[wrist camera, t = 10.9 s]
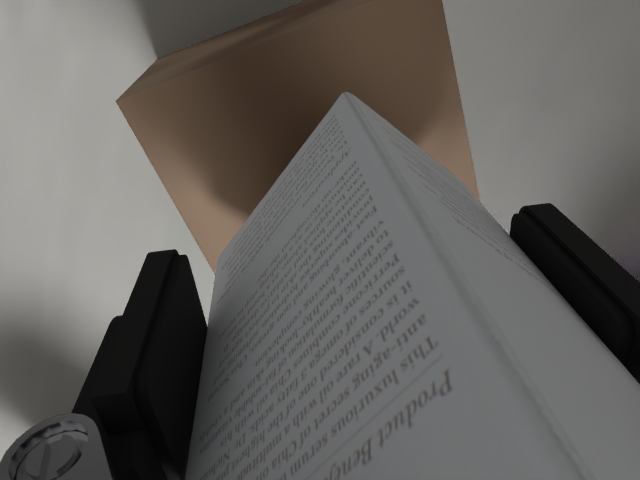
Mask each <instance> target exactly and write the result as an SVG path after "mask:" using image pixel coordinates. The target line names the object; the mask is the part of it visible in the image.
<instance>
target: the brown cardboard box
mask: <svg viewBox="0 0 640 480" xmlns="http://www.w3.org/2000/svg"><path fill="white" fill-rule="evenodd" d="M344 92H349V93H351V94H353V95H354V96H356V97H357V98H358V99H360V100H361V101H362V102H363V103H365V104H366V105H367V106H369V107H370V108H371V109H372V110H374V111H375V112H376V113H377V114H379V115H380V116H381V117H383V118H384V119H385V120H386V121H388V122H389V123H390V124H391V125H393V126H394V127H395V128H396V129H397V130H399V131H400V132H401V133H402V134H404V135H405V136H406V137H407V138H409V139H410V140H411V141H412V142H414V143H415V144H416V145H417V146H419V147H420V148H421V149H422V150H424V151H425V152H426V153H427V154H429V155H430V156H431V157H432V158H434V159H435V160H436V161H437V162H439V163H440V164H441V165H442V166H444V167H445V168H446V169H447V170H449V171H450V172H451V173H453V174H454V175H455V176H456V177H458V178H459V179H460V180H461V181H462V182H463V183H464V184H465V185H466V187H467V188H468V189H469V190H470V191H471V192H472V193H473V195H474V196H475V197H476V198H477V199H478V200H479V195H478V189H477V184H476V179H475V173H474V168H473V163H472V158H471V152H470V147H469V142H468V136H467V131H466V126H465V120H464V115H463V110H462V105H461V99H460V94H459V89H458V83H457V78H456V73H455V67H454V62H453V57H452V52H451V46H450V41H449V36H448V30H447V25H446V20H445V15H444V9H443V4H442V0H307V1H304V2H302V3H299V4H297V5H294V6H292V7H289V8H286V9H284V10H281V11H279V12H276V13H274V14H271V15H269V16H266V17H264V18H261V19H259V20H256V21H254V22H251V23H248V24H246V25H243V26H241V27H238V28H236V29H233V30H231V31H228V32H226V33H223V34H221V35H218V36H216V37H213V38H210V39H208V40H205V41H203V42H200V43H198V44H195V45H193V46H190V47H188V48H185V49H183V50H180V51H178V52H175V53H172V54H170V55H167V56H165V57H162V58H160V59H157V60H156V61H155V62H154V63H153V64H152V65H151V66H150V67H149V68H148V69H147V70H146V71H145V72H144V73H143V74H142V75H141V76H140V77H139V78H138V79H137V80H136V81H135V82H134V83H133V84H132V85H131V86H130V87H129V88H128V89H127V90H126V91H125V92H124V93H123V94H122V95H121V96H120V97H119V98H118V99H117V100H116V103H117V104H118V106H119V108H120V110H121V111H122V113H123V115H124V117H125V118H126V120H127V122H128V124H129V125H130V127H131V129H132V130H133V132H134V134H135V136H136V137H137V139H138V141H139V143H140V144H141V146H142V148H143V150H144V151H145V153H146V155H147V157H148V158H149V160H150V162H151V164H152V165H153V167H154V169H155V171H156V172H157V174H158V176H159V178H160V179H161V181H162V183H163V185H164V186H165V188H166V190H167V192H168V193H169V195H170V197H171V199H172V200H173V202H174V204H175V206H176V207H177V209H178V211H179V213H180V214H181V216H182V218H183V220H184V221H185V223H186V225H187V227H188V228H189V230H190V232H191V234H192V235H193V237H194V239H195V241H196V242H197V244H198V246H199V248H200V249H201V251H202V253H203V255H204V256H205V258H206V260H207V261H208V263H209V265H210V267H211V268H212V270H213V272H214V274H216V268H217V261H218V258H219V256H220V255H221V253H222V252H223V251H224V250H225V248H226V247H227V246H228V244H229V243H230V242H231V240H232V239H233V238H234V236H235V235H236V234H237V232H238V231H239V230H240V228H241V227H242V226H243V224H244V223H245V222H246V220H247V219H248V218H249V216H250V215H251V214H252V212H253V211H254V210H255V208H256V207H257V206H258V204H259V203H260V202H261V200H262V199H263V198H264V196H265V195H266V194H267V192H268V191H269V190H270V189H271V187H272V186H273V184H274V183H275V182H276V180H277V179H278V177H279V176H280V175H281V174H282V172H283V171H284V170H285V168H286V167H287V166H288V164H289V163H290V162H291V160H292V159H293V158H294V156H295V155H296V154H297V152H298V151H299V150H300V148H301V147H302V146H303V144H304V143H305V142H306V141H307V139H308V138H309V137H310V135H311V134H312V133H313V131H314V130H315V129H316V127H317V126H318V125H319V123H320V122H321V121H322V119H323V118H324V117H325V115H326V114H327V113H328V112H329V110H330V109H331V108H332V106H333V105H334V103H335V102H336V101H337V99H338V98H339V97H340V95H341V94H342V93H344ZM479 202H480V200H479Z"/></svg>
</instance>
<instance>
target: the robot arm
mask: <svg viewBox="0 0 640 480" xmlns="http://www.w3.org/2000/svg"><path fill="white" fill-rule="evenodd" d="M510 237H511V238H512V239H513V240H514V242H515V243H516V244H517V245H518V246H519V247H520V248H521V250H522V251H523V252H524V253H525V254H526V255H527V256H528V257H529V259H530V260H531V261H532V262H533V263H534V264H535V265H536V267H537V268H538V269H539V270H540V271H541V272H542V273H543V275H544V276H545V277H546V278H547V279H548V280H549V281H550V283H551V284H552V285H553V286H554V287H555V288H556V290H557V291H558V292H559V293H560V294H561V295H562V296H563V298H564V299H565V300H566V301H567V302H568V303H569V304H570V305H571V307H572V308H573V309H574V310H575V311H576V312H577V313H578V314H579V316H580V317H581V318H582V319H583V320H584V321H585V322H586V324H587V325H588V326H589V327H590V328H591V329H592V330H593V332H594V333H595V334H596V335H597V336H598V337H599V338H600V340H601V341H602V342H603V343H604V344H605V345H606V346H607V348H608V349H609V350H610V351H611V352H612V353H613V354H614V355H615V357H616V358H617V359H618V360H619V361H620V362H621V363H622V364H623V366H624V367H625V368H626V369H627V370H628V371H629V372H630V374H631V375H632V376H633V377H634V378H635V379H636V381H637V382H638V383H639V384H640V283H639V282H638V281H637V280H636V279H635V278H634V277H632V276H631V275H630V274H629V273H628V272H627V271H626V270H625V269H624V268H622V267H621V266H620V265H619V264H618V263H617V262H616V261H615V260H614V259H612V258H611V257H610V256H609V255H608V254H607V253H606V252H605V251H604V250H602V249H601V248H600V247H599V246H598V245H597V244H596V243H595V242H594V241H592V240H591V239H590V238H589V237H588V236H587V235H586V234H585V233H584V232H582V231H581V230H580V229H579V228H578V227H577V226H576V225H575V224H574V223H572V222H571V221H570V220H569V219H568V218H567V217H566V216H565V215H564V214H562V213H561V212H560V211H559V210H558V209H557V208H556V207H555V206H554V205H552V204H550V203H546V204H538V205H530V206H523V207H522V208H521V209H520V211H519V213H517V214H514V215H513V217H512V221H511V228H510ZM207 329H208V328H207V324H206V321H205V317H204V314H203V310H202V306H201V303H200V299H199V295H198V292H197V288H196V285H195V281H194V277H193V274H192V270H191V267H190V263H189V260H188V257H187V255H179V254H178V252H177V250H175V249H173V250H165V251H157V252H150V253H148V254H147V256H146V259H145V261H144V264H143V266H142V269H141V271H140V274H139V276H138V279H137V281H136V284H135V286H134V288H133V291H132V293H131V296H130V298H129V301H128V303H127V306H126V308H125V311H124V313H123V316H116V317H115V318H113V320H112V321H111V323H110V325H109V327H108V329H107V332H106V334H105V336H104V339H103V341H102V343H101V346H100V348H99V350H98V353H97V355H96V357H95V360H94V362H93V364H92V366H91V369H90V371H89V373H88V376H87V378H86V380H85V383H84V385H83V387H82V390H81V392H80V394H79V397H78V399H77V401H76V404H75V406H74V408H73V411H72V413H70V414H63V415H58V416H55V417H52V418H49V419H46V420H44V421H42V422H40V423H39V424H37V425H35V426H33V427H32V428H30V429H29V430H27V431H26V432H25V433H24V434H22V435H21V436H20V437H19V438H17V439H16V440H15V442H14V443H13V444H12V445H11V446H10V447H9V449H8V450H7V451H6V452H5V454H4V456H3V458H2V460H1V462H0V480H185V476H186V470H187V463H188V456H189V450H190V442H191V436H192V430H193V423H194V417H195V410H196V403H197V396H198V389H199V382H200V376H201V369H202V361H203V354H204V348H205V342H206V336H207Z"/></svg>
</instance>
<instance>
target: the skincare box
mask: <svg viewBox="0 0 640 480" xmlns="http://www.w3.org/2000/svg"><path fill="white" fill-rule="evenodd" d="M207 328H208V329H207V336H206V342H205V348H204V354H203V361H202V369H201V376H200V382H199V389H198V396H197V403H196V410H195V417H194V423H193V430H192V436H191V442H190V450H189V456H188V463H187V470H186V476H185V480H640V384H639V383H638V382H637V381H636V379H635V378H634V377H633V376H632V375H631V374H630V372H629V371H628V370H627V369H626V368H625V367H624V366H623V364H622V363H621V362H620V361H619V360H618V359H617V358H616V357H615V355H614V354H613V353H612V352H611V351H610V350H609V349H608V348H607V346H606V345H605V344H604V343H603V342H602V341H601V340H600V338H599V337H598V336H597V335H596V334H595V333H594V332H593V330H592V329H591V328H590V327H589V326H588V325H587V324H586V322H585V321H584V320H583V319H582V318H581V317H580V316H579V314H578V313H577V312H576V311H575V310H574V309H573V308H572V307H571V305H570V304H569V303H568V302H567V301H566V300H565V299H564V298H563V296H562V295H561V294H560V293H559V292H558V291H557V290H556V288H555V287H554V286H553V285H552V284H551V283H550V281H549V280H548V279H547V278H546V277H545V276H544V275H543V273H542V272H541V271H540V270H539V269H538V268H537V267H536V265H535V264H534V263H533V262H532V261H531V260H530V259H529V257H528V256H527V255H526V254H525V253H524V252H523V251H522V250H521V248H520V247H519V246H518V245H517V244H516V243H515V242H514V240H513V239H512V238H511V237H510V236H509V235H508V234H507V232H506V231H505V230H504V229H503V228H502V227H501V226H500V224H499V223H498V222H497V221H496V220H495V219H494V218H493V216H492V215H491V214H490V213H489V212H488V211H487V210H486V208H485V207H484V206H483V205H482V204H481V203H480V202H479V200H478V199H477V198H476V197H475V196H474V195H473V193H472V192H471V191H470V190H469V189H468V188H467V187H466V185H465V184H464V183H463V182H462V181H461V180H460V179H459V178H458V177H456V176H455V175H454V174H453V173H451V172H450V171H449V170H447V169H446V168H445V167H444V166H442V165H441V164H440V163H439V162H437V161H436V160H435V159H434V158H432V157H431V156H430V155H429V154H427V153H426V152H425V151H424V150H422V149H421V148H420V147H419V146H417V145H416V144H415V143H414V142H412V141H411V140H410V139H409V138H407V137H406V136H405V135H404V134H402V133H401V132H400V131H399V130H397V129H396V128H395V127H394V126H393V125H391V124H390V123H389V122H388V121H386V120H385V119H384V118H383V117H381V116H380V115H379V114H377V113H376V112H375V111H374V110H372V109H371V108H370V107H369V106H367V105H366V104H365V103H363V102H362V101H361V100H360V99H358V98H357V97H356V96H354V95H353V94H351V93H349V92H344V93H342V94H341V95H340V97H339V98H338V99H337V101H336V102H335V103H334V105H333V106H332V108H331V109H330V110H329V112H328V113H327V114H326V115H325V117H324V118H323V119H322V121H321V122H320V123H319V125H318V126H317V127H316V129H315V130H314V131H313V133H312V134H311V135H310V137H309V138H308V139H307V141H306V142H305V143H304V144H303V146H302V147H301V148H300V150H299V151H298V152H297V154H296V155H295V156H294V158H293V159H292V160H291V162H290V163H289V164H288V166H287V167H286V168H285V170H284V171H283V172H282V174H281V175H280V176H279V177H278V179H277V180H276V182H275V183H274V184H273V186H272V187H271V189H270V190H269V191H268V192H267V194H266V195H265V196H264V198H263V199H262V200H261V202H260V203H259V204H258V206H257V207H256V208H255V210H254V211H253V212H252V214H251V215H250V216H249V218H248V219H247V220H246V222H245V223H244V224H243V226H242V227H241V228H240V230H239V231H238V232H237V234H236V235H235V236H234V238H233V239H232V240H231V242H230V243H229V244H228V246H227V247H226V248H225V250H224V251H223V252H222V253H221V255H220V256H219V258H218V261H217V268H216V274H215V281H214V288H213V295H212V301H211V308H210V314H209V320H208V327H207Z"/></svg>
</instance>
